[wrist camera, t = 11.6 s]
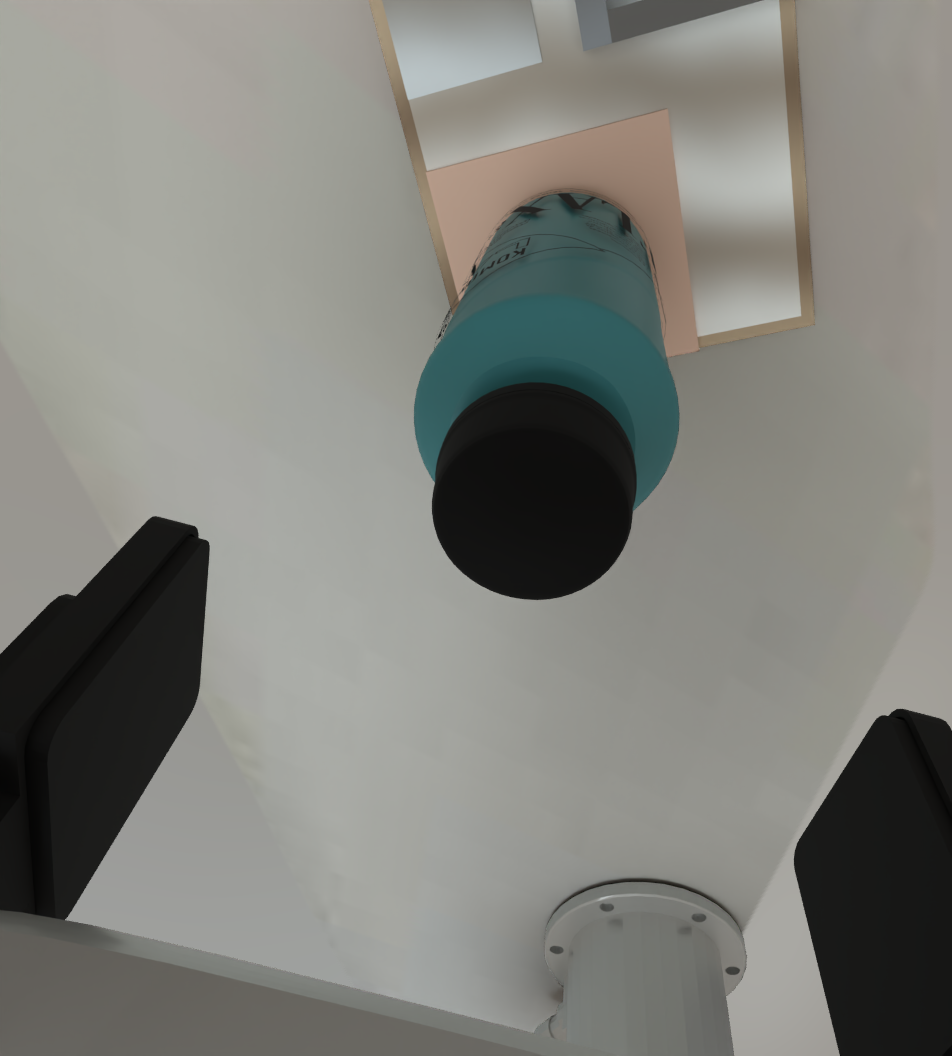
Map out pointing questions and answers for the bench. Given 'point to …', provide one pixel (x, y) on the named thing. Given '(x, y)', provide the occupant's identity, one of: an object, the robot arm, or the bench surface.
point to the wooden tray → (620, 93)
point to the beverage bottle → (548, 400)
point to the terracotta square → (588, 164)
